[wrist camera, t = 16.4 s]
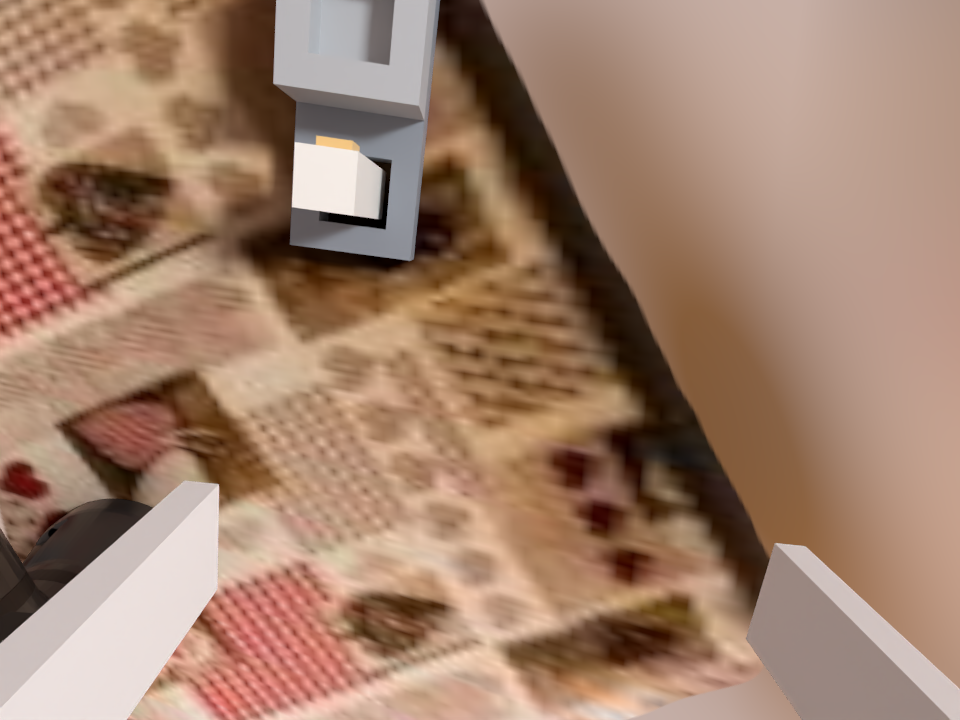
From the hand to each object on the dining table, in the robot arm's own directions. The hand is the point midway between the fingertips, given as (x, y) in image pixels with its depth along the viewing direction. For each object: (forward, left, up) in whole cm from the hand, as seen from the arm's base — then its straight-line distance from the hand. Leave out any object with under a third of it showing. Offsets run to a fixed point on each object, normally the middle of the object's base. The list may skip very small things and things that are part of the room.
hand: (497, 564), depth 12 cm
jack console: (-11, +15, -37) cm, 41 cm away
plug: (-11, +10, -37) cm, 40 cm away
